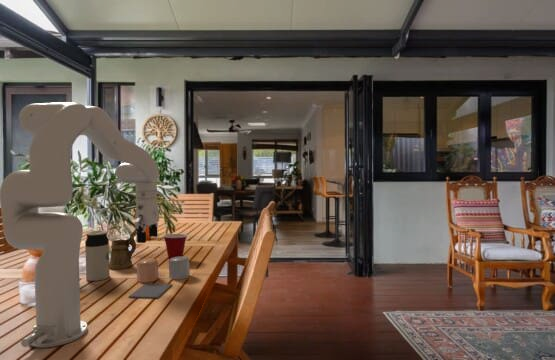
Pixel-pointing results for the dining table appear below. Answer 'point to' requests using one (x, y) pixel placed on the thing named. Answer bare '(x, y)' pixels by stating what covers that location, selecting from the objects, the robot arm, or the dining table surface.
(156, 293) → the mat
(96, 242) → the travel mug
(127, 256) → the wooden mug
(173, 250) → the plastic cup
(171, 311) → the dining table surface
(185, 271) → the grey cup
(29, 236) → the robot arm
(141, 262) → the terracotta cup
